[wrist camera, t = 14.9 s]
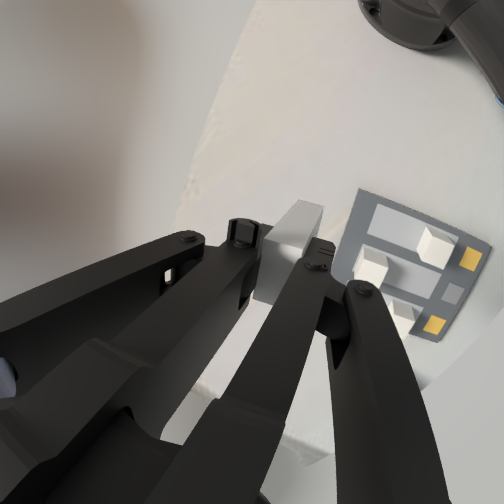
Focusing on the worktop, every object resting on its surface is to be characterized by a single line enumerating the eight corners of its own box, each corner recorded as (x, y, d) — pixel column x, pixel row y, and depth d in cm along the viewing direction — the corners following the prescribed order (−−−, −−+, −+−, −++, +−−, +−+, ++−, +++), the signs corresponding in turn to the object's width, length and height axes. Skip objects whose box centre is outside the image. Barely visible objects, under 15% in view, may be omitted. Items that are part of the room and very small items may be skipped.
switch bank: (358, 188, 38) (358, 190, 37) (488, 243, 33) (491, 246, 32) (318, 297, 46) (317, 301, 45) (436, 338, 41) (437, 343, 40)
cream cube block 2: (363, 247, 39) (363, 258, 36) (386, 255, 39) (388, 268, 35) (354, 269, 41) (353, 282, 37) (376, 277, 40) (377, 290, 37)
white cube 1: (425, 226, 35) (432, 236, 32) (446, 235, 34) (454, 245, 31) (416, 249, 37) (421, 260, 33) (436, 257, 36) (443, 269, 32)
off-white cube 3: (392, 299, 40) (394, 314, 37) (411, 306, 40) (415, 321, 36) (382, 317, 42) (383, 333, 39) (401, 324, 41) (403, 340, 38)
